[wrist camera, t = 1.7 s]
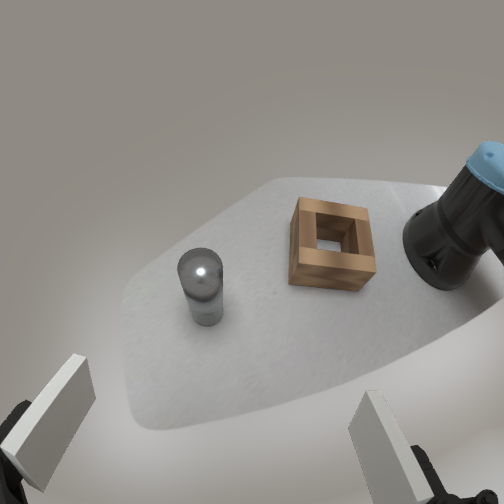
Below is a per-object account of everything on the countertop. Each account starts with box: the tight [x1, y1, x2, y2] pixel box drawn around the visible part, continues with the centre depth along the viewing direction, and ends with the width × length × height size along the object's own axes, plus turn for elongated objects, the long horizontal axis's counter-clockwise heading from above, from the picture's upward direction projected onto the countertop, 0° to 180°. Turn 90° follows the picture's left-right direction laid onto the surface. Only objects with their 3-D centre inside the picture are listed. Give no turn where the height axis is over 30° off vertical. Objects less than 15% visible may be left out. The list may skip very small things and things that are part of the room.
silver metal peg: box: [177, 248, 223, 326], centre depth 30 cm, size 4×4×12 cm
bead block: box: [289, 197, 376, 291], centre depth 38 cm, size 10×10×6 cm
